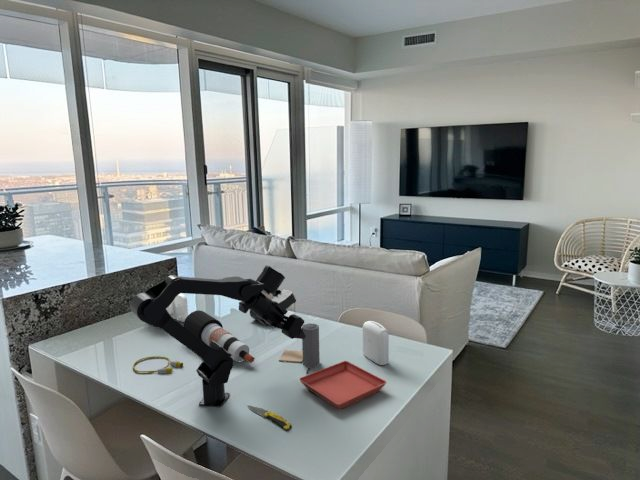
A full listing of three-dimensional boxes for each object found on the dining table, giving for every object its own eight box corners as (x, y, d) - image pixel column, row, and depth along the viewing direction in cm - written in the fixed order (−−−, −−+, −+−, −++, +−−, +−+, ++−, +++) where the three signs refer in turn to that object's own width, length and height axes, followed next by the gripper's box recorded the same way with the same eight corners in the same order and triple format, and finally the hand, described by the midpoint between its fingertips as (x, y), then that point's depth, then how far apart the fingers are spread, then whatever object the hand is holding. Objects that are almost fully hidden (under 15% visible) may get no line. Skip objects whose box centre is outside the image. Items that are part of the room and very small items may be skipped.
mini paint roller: (310, 373, 135) (310, 361, 134) (303, 373, 135) (303, 360, 134) (315, 362, 142) (315, 350, 141) (308, 361, 142) (308, 350, 142)
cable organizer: (146, 322, 180) (143, 295, 178) (168, 314, 188) (166, 288, 186) (167, 330, 171) (165, 301, 169) (190, 322, 179) (188, 294, 177)
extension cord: (149, 383, 132) (148, 377, 131) (126, 367, 142) (125, 361, 142) (186, 368, 140) (185, 363, 140) (161, 354, 151) (161, 349, 151)
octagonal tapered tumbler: (317, 367, 138) (316, 330, 136) (301, 366, 139) (300, 329, 137) (320, 360, 143) (319, 324, 141) (305, 359, 144) (304, 323, 142)
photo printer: (360, 354, 147) (360, 319, 144) (371, 351, 149) (371, 316, 146) (379, 367, 138) (379, 329, 136) (390, 363, 140) (390, 326, 138)
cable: (246, 381, 140) (234, 361, 134) (190, 341, 162) (178, 323, 156) (268, 359, 145) (257, 338, 139) (211, 323, 167) (200, 304, 161)
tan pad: (301, 362, 142) (301, 361, 142) (278, 361, 143) (278, 360, 143) (306, 352, 149) (306, 351, 149) (284, 351, 150) (284, 350, 150)
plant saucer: (298, 388, 127) (297, 377, 126) (345, 369, 138) (345, 359, 137) (338, 416, 113) (338, 404, 112) (388, 392, 123) (388, 381, 123)
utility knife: (241, 406, 116) (250, 401, 119) (241, 410, 117) (250, 405, 119) (286, 428, 106) (295, 422, 109) (287, 433, 107) (295, 427, 109)
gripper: (297, 290, 122) (329, 318, 131) (262, 277, 136) (292, 303, 145) (274, 325, 118) (308, 351, 127) (240, 307, 133) (273, 332, 142)
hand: (295, 332), depth 135 cm, fingers open, 9 cm apart
